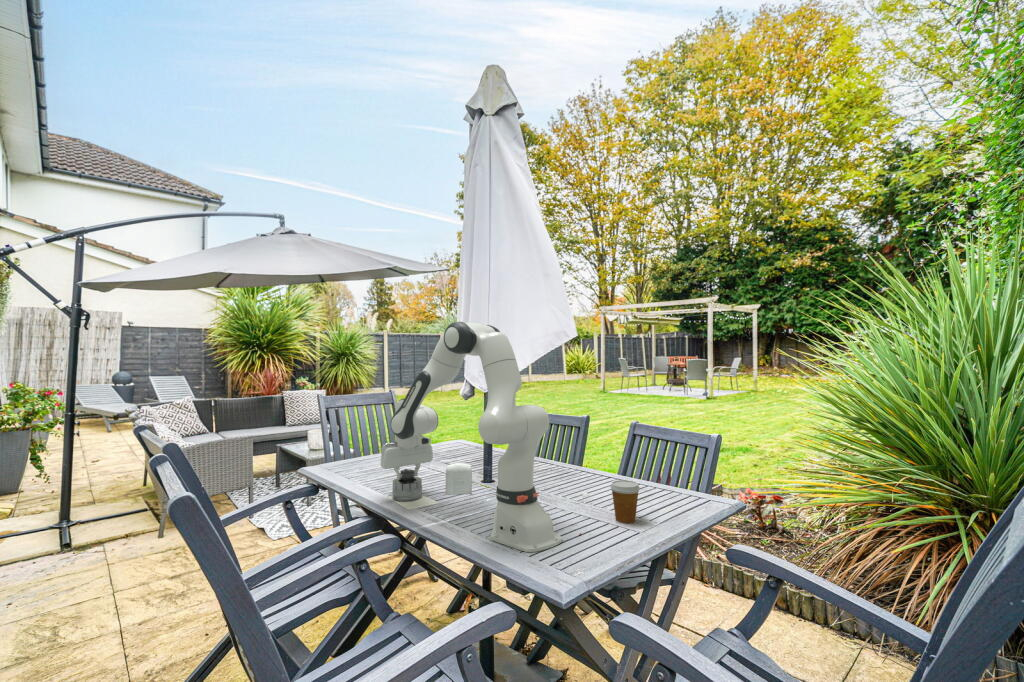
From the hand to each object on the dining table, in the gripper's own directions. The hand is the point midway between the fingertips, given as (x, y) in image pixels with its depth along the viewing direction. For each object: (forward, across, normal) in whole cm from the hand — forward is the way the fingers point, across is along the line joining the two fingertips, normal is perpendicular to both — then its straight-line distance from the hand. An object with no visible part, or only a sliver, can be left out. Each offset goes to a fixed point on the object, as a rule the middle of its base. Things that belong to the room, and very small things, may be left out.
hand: (407, 477), depth 184 cm
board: (+9, 0, -4) cm, 10 cm away
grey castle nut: (+8, 0, 0) cm, 8 cm away
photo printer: (+9, +18, -7) cm, 22 cm away
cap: (+1, 0, 0) cm, 1 cm away
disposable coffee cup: (+9, +46, -66) cm, 81 cm away
